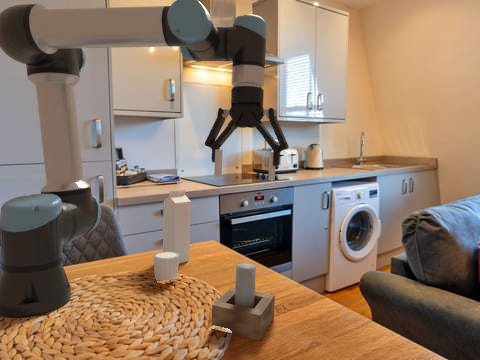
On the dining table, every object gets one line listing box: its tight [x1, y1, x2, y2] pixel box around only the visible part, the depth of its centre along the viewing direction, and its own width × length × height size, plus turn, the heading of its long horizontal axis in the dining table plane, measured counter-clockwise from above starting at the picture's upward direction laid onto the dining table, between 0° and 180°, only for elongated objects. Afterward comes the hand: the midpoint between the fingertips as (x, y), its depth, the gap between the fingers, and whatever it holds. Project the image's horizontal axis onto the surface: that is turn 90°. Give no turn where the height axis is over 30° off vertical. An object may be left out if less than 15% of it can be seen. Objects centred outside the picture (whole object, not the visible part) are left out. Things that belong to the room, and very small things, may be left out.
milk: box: [162, 189, 192, 264], centre depth 110 cm, size 6×6×22 cm
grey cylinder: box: [234, 263, 257, 309], centre depth 73 cm, size 4×4×12 cm
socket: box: [211, 287, 276, 342], centre depth 74 cm, size 10×10×5 cm
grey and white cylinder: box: [152, 251, 180, 281], centre depth 95 cm, size 7×7×7 cm
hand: (244, 178), depth 85 cm, fingers open, 13 cm apart
